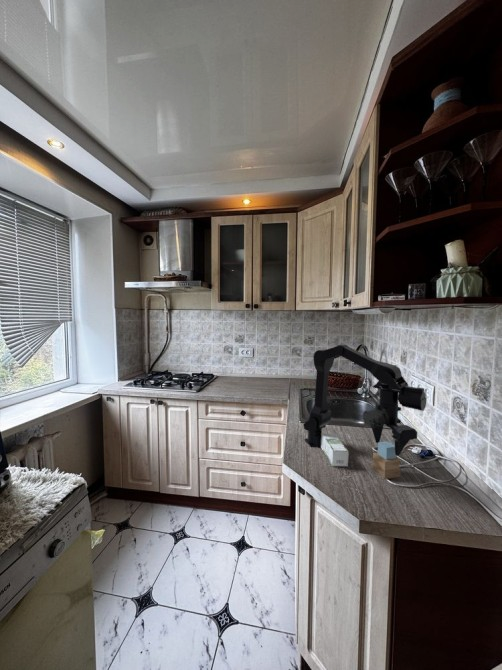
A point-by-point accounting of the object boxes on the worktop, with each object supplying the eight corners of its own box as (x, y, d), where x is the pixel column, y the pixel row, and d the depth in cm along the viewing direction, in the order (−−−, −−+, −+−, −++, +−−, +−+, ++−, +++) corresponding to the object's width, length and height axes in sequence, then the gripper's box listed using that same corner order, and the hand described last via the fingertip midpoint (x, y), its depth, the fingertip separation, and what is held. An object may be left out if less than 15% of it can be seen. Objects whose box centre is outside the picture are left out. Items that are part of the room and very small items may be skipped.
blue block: (377, 453, 90) (378, 442, 90) (387, 452, 91) (387, 441, 91) (386, 459, 86) (386, 447, 86) (396, 458, 87) (396, 446, 87)
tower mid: (372, 461, 91) (373, 453, 91) (386, 459, 92) (387, 451, 92) (384, 470, 85) (385, 461, 85) (399, 468, 87) (399, 459, 87)
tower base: (372, 469, 91) (372, 461, 91) (386, 467, 93) (387, 459, 92) (384, 479, 85) (384, 470, 85) (400, 477, 87) (400, 468, 87)
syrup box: (348, 467, 92) (334, 447, 107) (349, 450, 92) (334, 433, 107) (332, 466, 92) (320, 447, 107) (332, 450, 92) (321, 433, 106)
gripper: (350, 396, 95) (349, 438, 96) (387, 414, 77) (386, 466, 78) (377, 394, 98) (375, 435, 98) (419, 411, 79) (417, 461, 80)
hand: (386, 448), depth 89 cm, fingers open, 9 cm apart
